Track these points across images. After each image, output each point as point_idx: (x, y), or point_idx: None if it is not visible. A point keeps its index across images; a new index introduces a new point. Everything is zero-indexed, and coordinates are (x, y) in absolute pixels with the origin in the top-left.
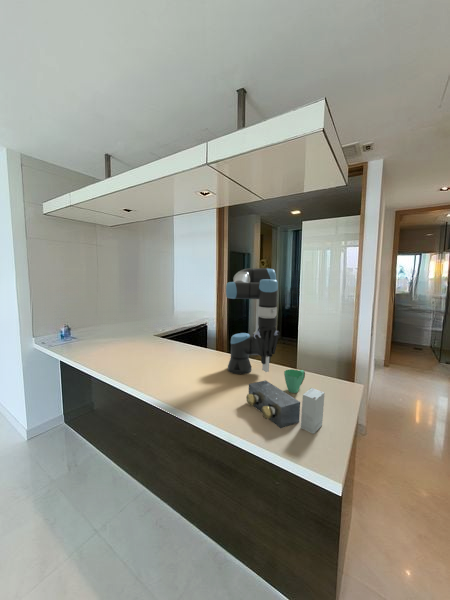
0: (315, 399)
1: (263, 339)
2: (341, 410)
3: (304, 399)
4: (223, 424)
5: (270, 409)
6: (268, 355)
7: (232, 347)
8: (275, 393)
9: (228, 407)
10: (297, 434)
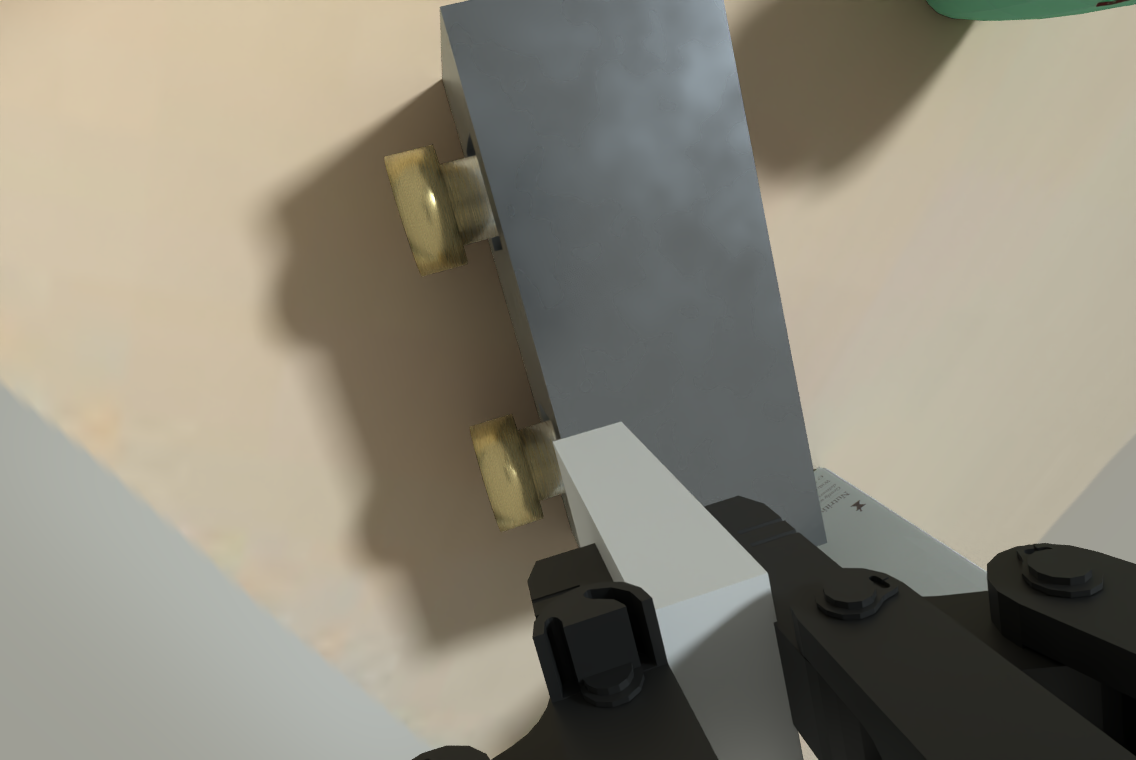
0: None
1: None
2: (1102, 378)
3: None
4: (115, 421)
5: (531, 514)
6: (812, 744)
7: None
8: (676, 341)
9: (205, 143)
10: None
